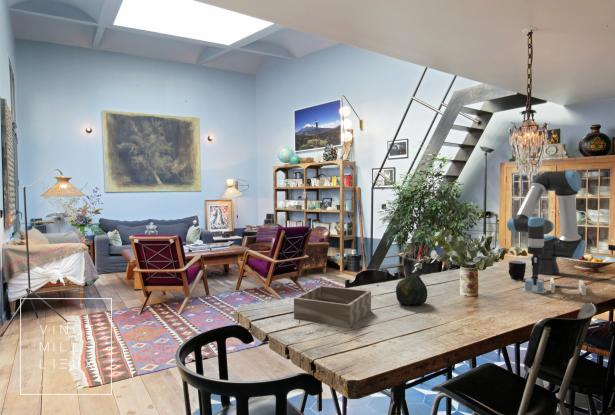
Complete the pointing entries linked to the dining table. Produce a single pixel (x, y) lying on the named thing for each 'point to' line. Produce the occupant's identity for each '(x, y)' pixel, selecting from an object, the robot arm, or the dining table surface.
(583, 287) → the channel
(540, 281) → the block
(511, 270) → the mug
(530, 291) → the coaster
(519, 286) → the dining table surface
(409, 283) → the squash
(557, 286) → the trap mat
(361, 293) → the planter box
